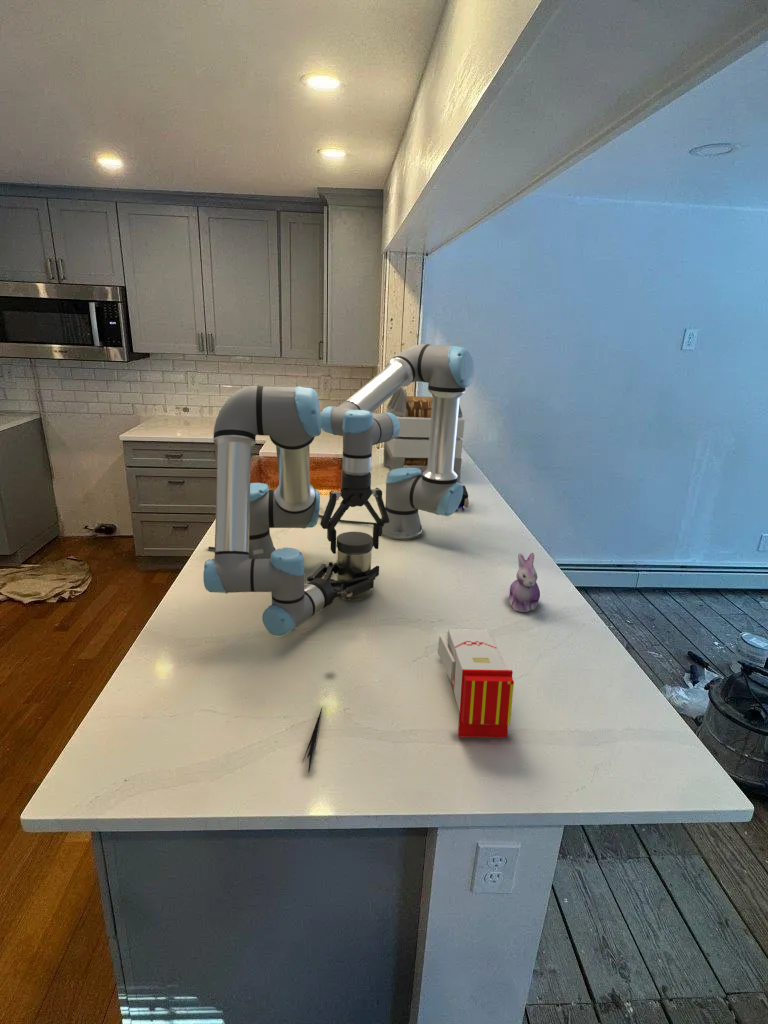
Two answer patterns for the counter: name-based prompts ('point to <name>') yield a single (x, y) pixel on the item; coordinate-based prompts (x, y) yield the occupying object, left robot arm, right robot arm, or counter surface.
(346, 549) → the lid
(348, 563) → the jar
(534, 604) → the figurine
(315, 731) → the feather
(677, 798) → the counter surface
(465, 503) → the figurine character
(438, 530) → the counter surface
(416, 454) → the transformer
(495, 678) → the toy
